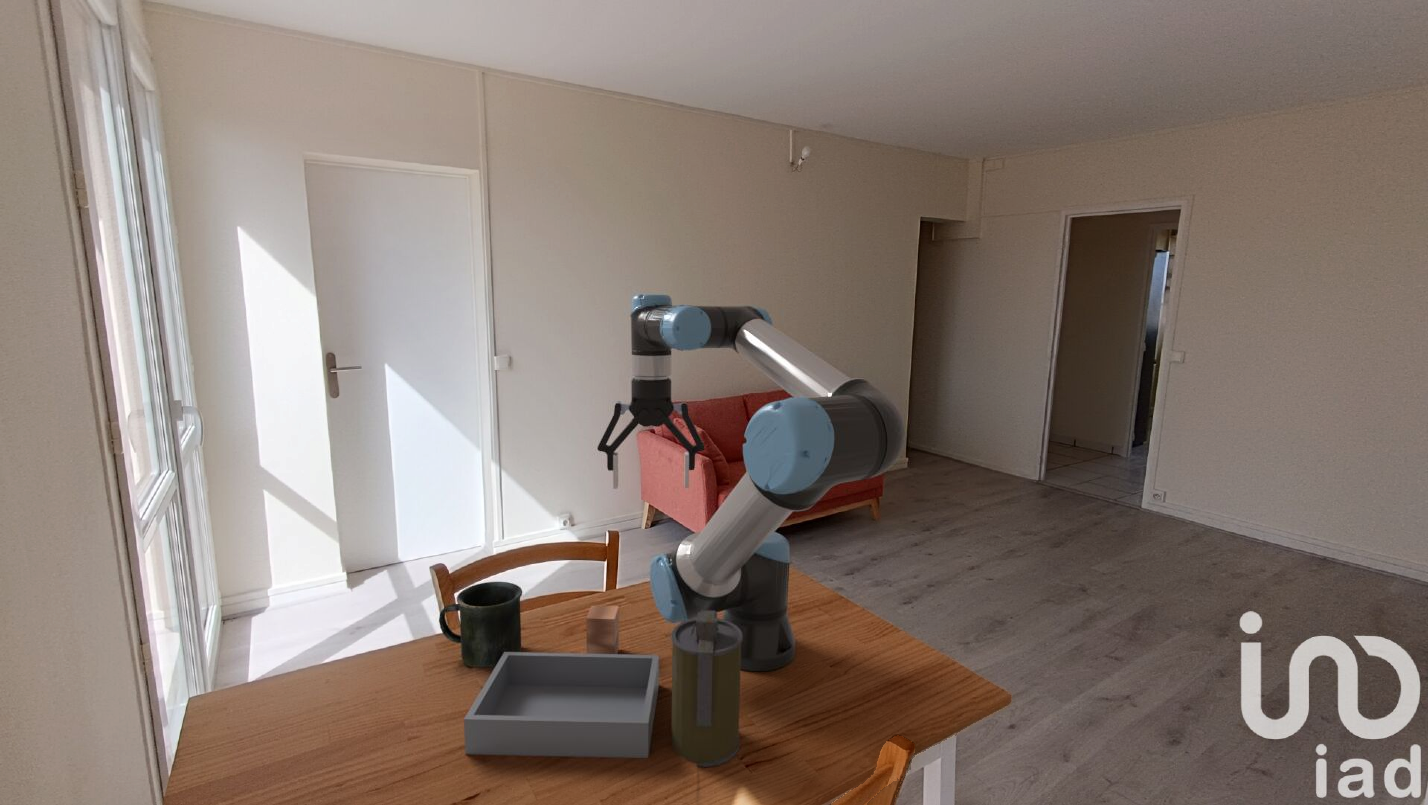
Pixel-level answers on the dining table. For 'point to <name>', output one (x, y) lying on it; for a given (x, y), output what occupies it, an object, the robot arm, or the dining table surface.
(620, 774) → the dining table surface
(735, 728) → the canister
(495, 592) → the mug
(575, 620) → the dining table surface
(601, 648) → the block
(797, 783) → the dining table surface
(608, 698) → the bin
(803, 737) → the dining table surface
